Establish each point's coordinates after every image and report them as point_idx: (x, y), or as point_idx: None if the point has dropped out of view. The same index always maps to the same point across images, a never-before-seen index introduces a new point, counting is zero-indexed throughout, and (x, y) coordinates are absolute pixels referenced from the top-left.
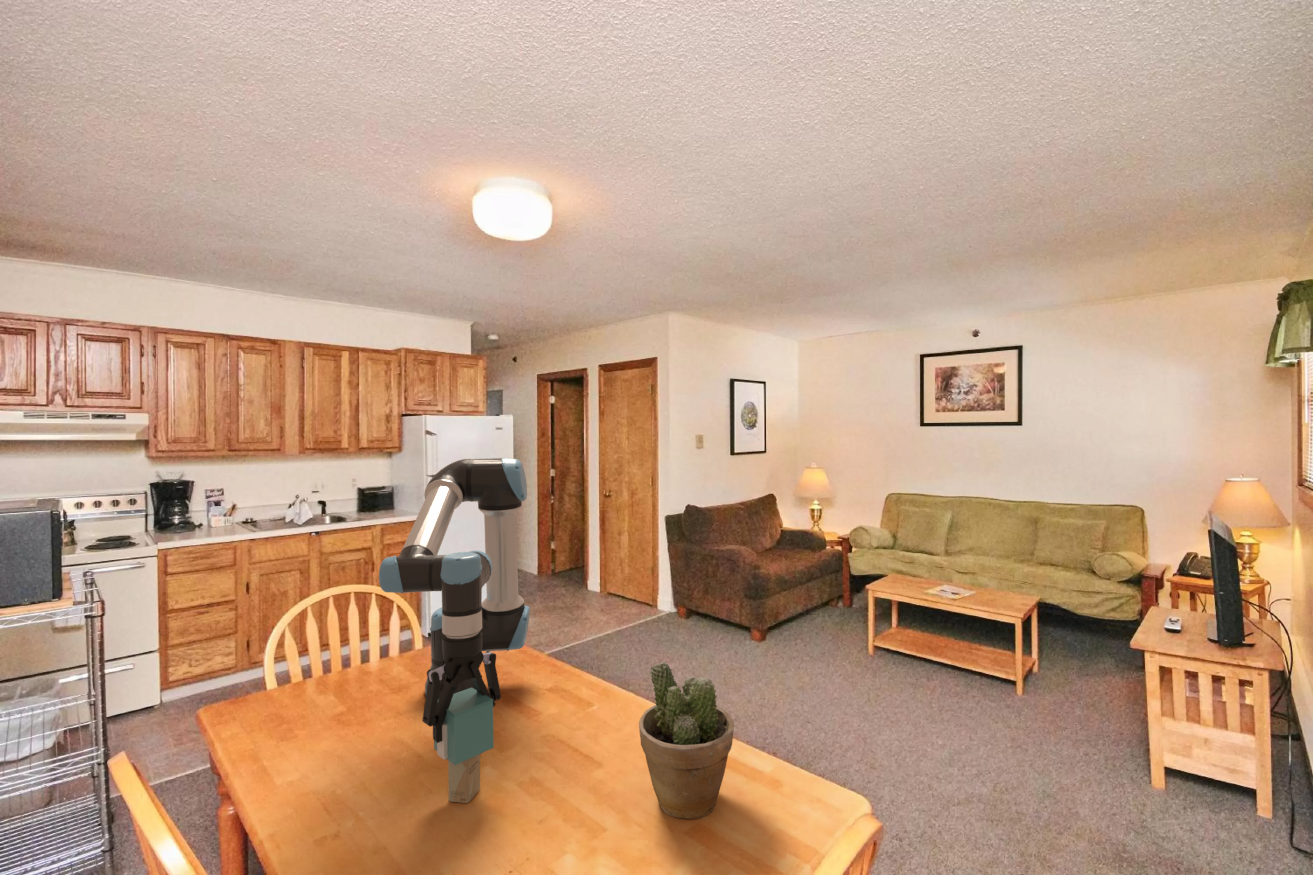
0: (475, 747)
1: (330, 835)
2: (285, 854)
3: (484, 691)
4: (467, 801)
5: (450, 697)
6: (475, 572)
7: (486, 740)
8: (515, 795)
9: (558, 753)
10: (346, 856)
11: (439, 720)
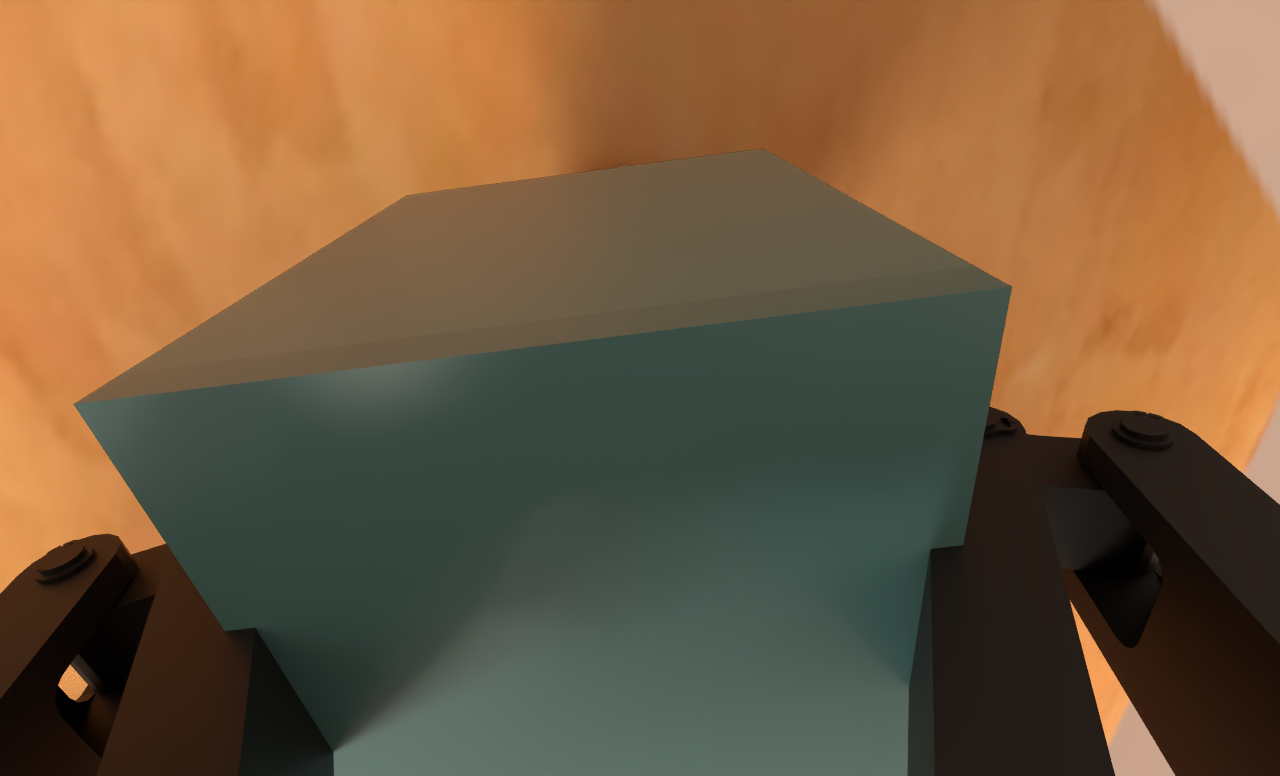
0: (572, 183)
1: (1119, 340)
2: (1268, 333)
3: (196, 689)
4: (626, 165)
5: (983, 734)
6: None
7: (452, 205)
8: (383, 49)
9: (54, 267)
10: (1170, 160)
11: (1011, 444)
